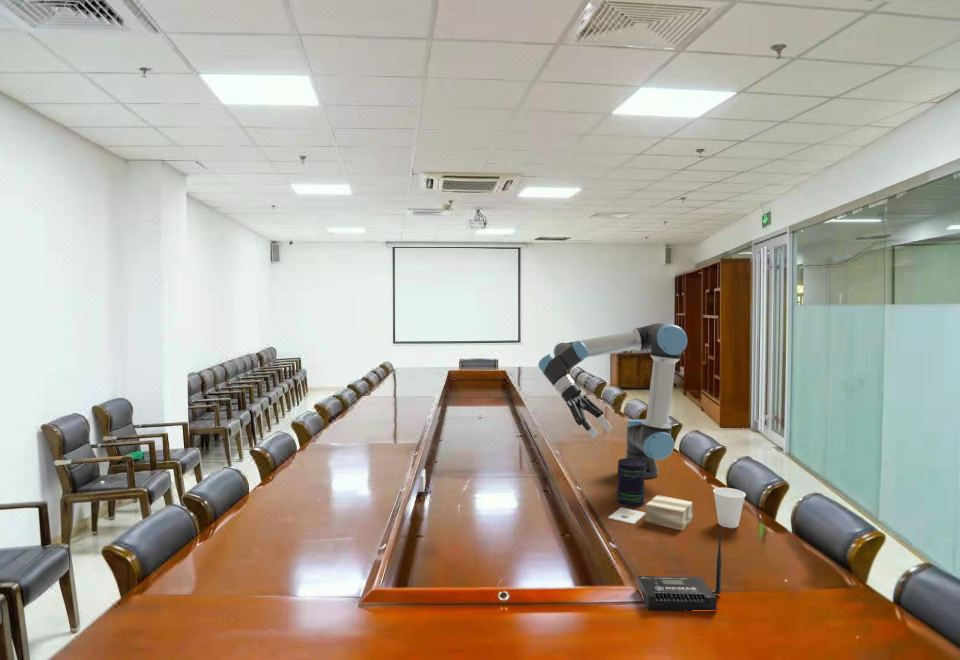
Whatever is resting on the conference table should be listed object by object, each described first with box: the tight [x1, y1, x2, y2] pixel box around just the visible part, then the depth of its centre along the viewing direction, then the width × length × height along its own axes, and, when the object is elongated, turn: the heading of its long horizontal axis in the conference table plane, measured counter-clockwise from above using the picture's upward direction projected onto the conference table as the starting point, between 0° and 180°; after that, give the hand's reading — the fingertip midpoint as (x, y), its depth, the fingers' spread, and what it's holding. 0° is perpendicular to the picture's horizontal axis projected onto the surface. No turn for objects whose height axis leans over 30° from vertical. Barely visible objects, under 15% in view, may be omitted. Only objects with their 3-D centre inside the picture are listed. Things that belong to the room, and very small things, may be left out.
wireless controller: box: [636, 529, 722, 612], centre depth 144 cm, size 20×14×17 cm
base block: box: [644, 494, 694, 531], centre depth 197 cm, size 12×12×6 cm
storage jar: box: [616, 458, 646, 508], centre depth 214 cm, size 10×10×15 cm
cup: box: [712, 487, 747, 529], centre depth 193 cm, size 10×10×11 cm
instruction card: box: [607, 506, 646, 525], centre depth 201 cm, size 12×9×1 cm
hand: (603, 433), depth 220 cm, fingers open, 13 cm apart
